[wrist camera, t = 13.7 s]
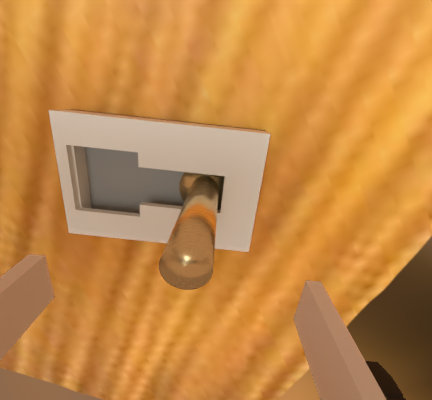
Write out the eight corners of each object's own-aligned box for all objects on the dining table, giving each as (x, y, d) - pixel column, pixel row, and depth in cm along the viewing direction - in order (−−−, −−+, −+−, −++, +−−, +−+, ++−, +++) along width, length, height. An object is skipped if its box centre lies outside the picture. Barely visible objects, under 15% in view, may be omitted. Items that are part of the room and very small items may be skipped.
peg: (182, 158, 27) (133, 217, 12) (233, 163, 27) (243, 229, 12) (180, 205, 29) (136, 301, 15) (227, 210, 29) (230, 311, 15)
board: (72, 109, 26) (48, 110, 23) (264, 130, 26) (270, 134, 23) (86, 218, 31) (68, 233, 28) (246, 235, 32) (248, 252, 28)
